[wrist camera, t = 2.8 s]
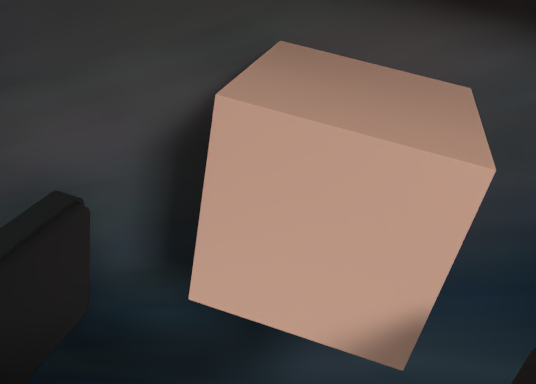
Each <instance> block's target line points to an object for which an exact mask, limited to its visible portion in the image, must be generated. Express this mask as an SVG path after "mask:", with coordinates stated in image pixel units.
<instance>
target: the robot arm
mask: <svg viewBox="0 0 536 384" xmlns="http://www.w3.org/2000/svg"><path fill="white" fill-rule="evenodd" d="M89 248H90V211H89V208H87V207H85V206H84V202H83V200H82V199H81V198H79V197H75V196H72V195H69V194H66V193H62V192H59V191H54V192H52V193H50V194H48V195H47V196H46V197H44V198H43V199H41V200H40V201H39V202H37V203H36V204H34V205H33V206H31V207H30V208H29V209H27V210H26V211H24V212H23V213H21V214H20V215H19V216H17V217H16V218H14V219H13V220H12V221H10V222H9V223H7V224H6V225H4V226H3V227H2V228H0V384H25V382H26V381H27V380H28V379H29V378H30V377H31V376H32V374H33V373H34V372H35V371H36V370H37V369H38V367H39V366H40V365H41V364H42V363H43V362H44V361H45V359H46V358H47V357H48V356H49V355H50V354H51V353H52V351H53V350H54V349H55V348H56V347H57V346H58V345H59V343H60V342H61V341H62V340H63V339H64V338H65V336H66V335H67V334H68V333H69V332H70V331H71V330H72V328H73V327H74V326H75V325H76V324H77V323H78V322H79V320H80V319H81V318H82V317H83V315H84V314H85V312H86V310H87V307H88V303H89ZM512 384H536V348H534V349H533V350H532V351H531V353H530V354H529V356H528V358H527V359H526V361H525V363H524V364H523V366H522V367H521V369H520V371H519V372H518V374H517V376H516V377H515V379H514V380H513V382H512Z"/></svg>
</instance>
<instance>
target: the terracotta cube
mask: <svg viewBox="0 0 536 384" xmlns="http://www.w3.org/2000/svg"><path fill="white" fill-rule="evenodd" d="M495 172H496V168H495V165H494V162H493V159H492V155H491V152H490V149H489V146H488V142H487V139H486V136H485V133H484V130H483V126H482V123H481V120H480V117H479V113H478V110H477V107H476V104H475V101H474V97H473V94H472V91H471V88H467V87H463V86H459V85H455V84H451V83H447V82H443V81H440V80H436V79H432V78H428V77H424V76H420V75H416V74H412V73H408V72H404V71H400V70H396V69H392V68H388V67H384V66H380V65H376V64H372V63H368V62H364V61H360V60H356V59H352V58H348V57H344V56H340V55H336V54H332V53H328V52H324V51H320V50H316V49H312V48H308V47H304V46H300V45H296V44H292V43H288V42H284V41H279V42H278V43H277V44H276V45H274V46H273V47H272V48H271V49H270V50H268V51H267V52H266V53H265V54H264V55H262V56H261V57H260V58H259V59H257V60H256V61H255V62H254V63H253V64H251V65H250V66H249V67H248V68H247V69H245V70H244V71H243V72H242V73H241V74H239V75H238V76H237V77H236V78H235V79H233V80H232V81H231V82H230V83H229V84H227V85H226V86H225V87H224V88H223V89H221V90H220V91H219V92H218V93H217V94H216V95H215V103H214V110H213V118H212V125H211V133H210V140H209V148H208V156H207V163H206V171H205V178H204V186H203V193H202V201H201V209H200V216H199V224H198V231H197V239H196V247H195V254H194V262H193V269H192V277H191V284H190V292H189V300H192V301H195V302H198V303H201V304H204V305H207V306H210V307H213V308H216V309H219V310H222V311H225V312H228V313H231V314H234V315H237V316H240V317H243V318H246V319H249V320H252V321H255V322H258V323H261V324H264V325H267V326H270V327H273V328H276V329H279V330H282V331H285V332H288V333H291V334H294V335H297V336H300V337H303V338H306V339H309V340H312V341H315V342H318V343H321V344H324V345H327V346H330V347H333V348H336V349H339V350H342V351H345V352H348V353H351V354H354V355H357V356H360V357H363V358H366V359H369V360H372V361H375V362H378V363H381V364H384V365H387V366H390V367H393V368H396V369H399V370H402V371H403V369H404V367H405V365H406V363H407V361H408V359H409V357H410V354H411V352H412V350H413V348H414V346H415V344H416V342H417V339H418V337H419V335H420V333H421V331H422V329H423V326H424V324H425V322H426V320H427V318H428V316H429V314H430V311H431V309H432V307H433V305H434V303H435V301H436V299H437V296H438V294H439V292H440V290H441V288H442V286H443V283H444V281H445V279H446V277H447V275H448V273H449V271H450V268H451V266H452V264H453V262H454V260H455V258H456V256H457V253H458V251H459V249H460V247H461V245H462V243H463V240H464V238H465V236H466V234H467V232H468V230H469V228H470V225H471V223H472V221H473V219H474V217H475V215H476V213H477V210H478V208H479V206H480V204H481V202H482V200H483V197H484V195H485V193H486V191H487V189H488V187H489V185H490V182H491V180H492V178H493V176H494V174H495Z"/></svg>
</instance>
